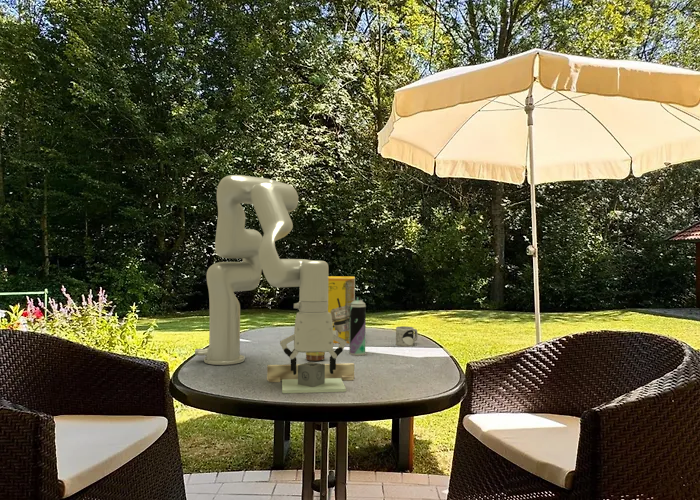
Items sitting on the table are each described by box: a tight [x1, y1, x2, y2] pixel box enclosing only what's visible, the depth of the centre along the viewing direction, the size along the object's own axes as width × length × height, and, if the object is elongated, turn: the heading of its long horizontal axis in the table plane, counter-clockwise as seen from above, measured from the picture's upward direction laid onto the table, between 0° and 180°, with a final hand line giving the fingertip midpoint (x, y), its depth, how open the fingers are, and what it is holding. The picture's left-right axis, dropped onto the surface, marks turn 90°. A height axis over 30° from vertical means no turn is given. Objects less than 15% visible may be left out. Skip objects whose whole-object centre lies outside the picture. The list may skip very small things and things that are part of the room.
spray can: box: [348, 295, 367, 357], centre depth 184 cm, size 6×6×20 cm
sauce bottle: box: [305, 352, 326, 362], centre depth 174 cm, size 7×6×20 cm
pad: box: [281, 378, 347, 394], centre depth 140 cm, size 16×11×1 cm
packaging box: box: [328, 275, 356, 344], centre depth 213 cm, size 16×16×25 cm
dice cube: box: [298, 361, 326, 387], centre depth 140 cm, size 5×5×5 cm
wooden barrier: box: [266, 362, 355, 383], centre depth 148 cm, size 24×5×4 cm, turn 98°
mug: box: [395, 326, 419, 348], centre depth 204 cm, size 10×7×7 cm, turn 129°
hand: (313, 373), depth 140 cm, fingers open, 9 cm apart
